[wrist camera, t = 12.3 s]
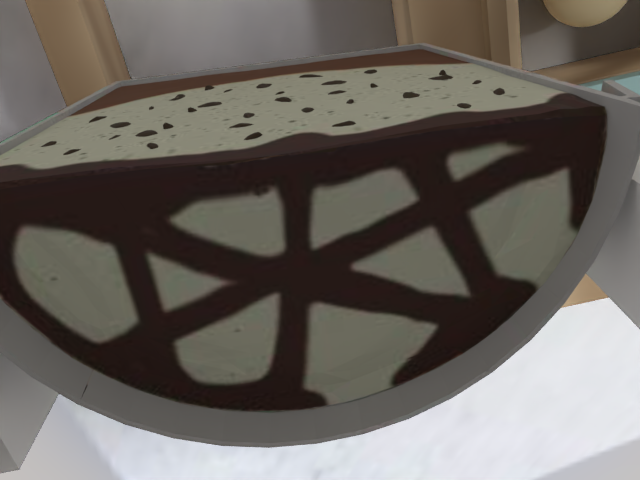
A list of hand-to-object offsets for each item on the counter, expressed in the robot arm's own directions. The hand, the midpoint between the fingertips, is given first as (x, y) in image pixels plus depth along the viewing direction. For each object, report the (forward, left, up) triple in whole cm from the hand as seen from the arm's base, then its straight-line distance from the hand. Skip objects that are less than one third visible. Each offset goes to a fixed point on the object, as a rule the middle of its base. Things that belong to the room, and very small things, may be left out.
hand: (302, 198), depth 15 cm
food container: (0, 0, -4) cm, 4 cm away
